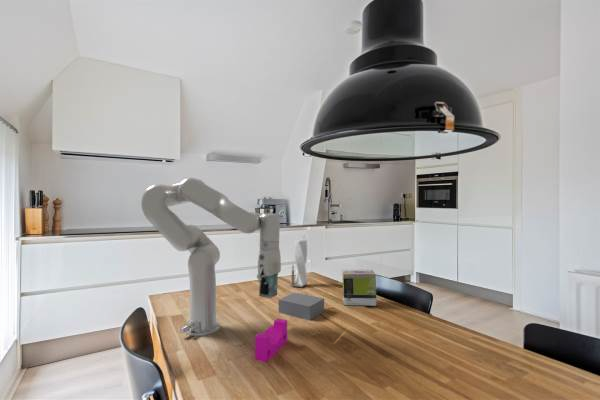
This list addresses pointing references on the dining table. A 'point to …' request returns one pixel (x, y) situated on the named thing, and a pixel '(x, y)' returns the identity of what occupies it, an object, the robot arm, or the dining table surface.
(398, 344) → the dining table surface
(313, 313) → the plinth
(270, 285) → the teal block
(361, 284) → the tea box
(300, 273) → the skyscraper
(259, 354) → the toy block
